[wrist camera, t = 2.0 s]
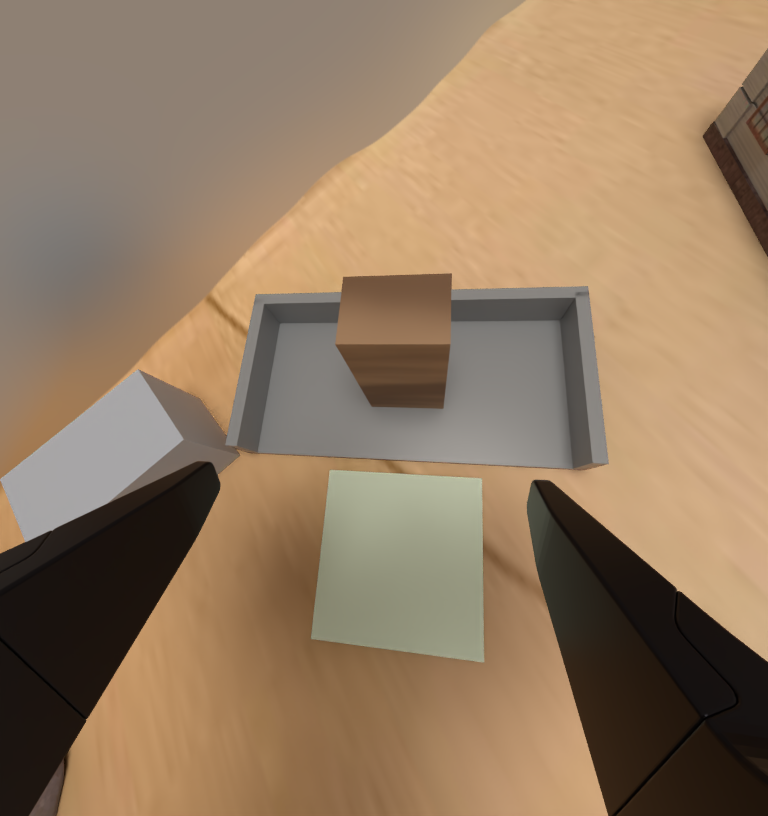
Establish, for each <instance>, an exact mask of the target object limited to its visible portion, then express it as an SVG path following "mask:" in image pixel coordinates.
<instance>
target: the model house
mask: <svg viewBox="0 0 768 816" xmlns="http://www.w3.org/2000/svg"><path fill="white" fill-rule="evenodd" d="M742 85H743V87H739V89H738V90H737V92H736V93H735V94H734V96H733V97H732V98H731V100H730V101H729V103H728V104H727V105H726V107H725V108H724V109H723V111H722V112H721V113H720V115H719V116H718V118H717V119H716V120H715V122H713V123H712V124H711V125H710V127H709V128H708V130H707V131H706V132H705V134H704V135H703V138H704V140H705V142H706V144H707V145H708V147H709V149H710V151H711V153H712V155H713V156H714V158H715V160H716V162H717V164H718V166H719V168H720V169H721V171H722V173H723V175H724V177H725V179H726V181H727V182H728V184H729V186H730V188H731V190H732V192H733V194H734V195H735V197H736V199H737V201H738V203H739V205H740V206H741V208H742V210H743V212H744V214H745V216H746V218H747V219H748V221H749V223H750V225H751V227H752V229H753V231H754V232H755V234H756V236H757V238H758V240H759V242H760V244H761V245H762V247H763V249H764V251H765V253H766V255H767V257H768V49H767V50H766V52H765V53H764V54H763V56H762V57H761V59H760V60H759V61H758V63H757V64H756V65H755V67H754V68H753V70H752V71H751V72H750V74H749V75H748V76H747V78H746V79H745V81H744V82H743V83H742Z"/></svg>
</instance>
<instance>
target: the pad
mask: <svg viewBox="0 0 768 816" xmlns="http://www.w3.org/2000/svg"><path fill="white" fill-rule="evenodd" d="M311 639H315V640H322V641H329V642H337V643H344V644H351V645H359V646H366V647H373V648H381V649H388V650H395V651H403V652H410V653H417V654H425V655H432V656H439V657H447V658H454V659H461V660H469V661H476V662H483V663H484V608H483V522H482V478H467V477H449V476H432V475H414V474H397V473H379V472H362V471H344V470H330V474H329V483H328V491H327V500H326V509H325V518H324V527H323V536H322V544H321V553H320V562H319V571H318V580H317V589H316V598H315V606H314V615H313V624H312V633H311Z"/></svg>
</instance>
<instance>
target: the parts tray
mask: <svg viewBox="0 0 768 816" xmlns="http://www.w3.org/2000/svg"><path fill="white" fill-rule="evenodd" d="M340 300H341V292H334V293H293V294H256V296H255V301H254V306H253V311H252V316H251V320H250V325H249V330H248V335H247V340H246V345H245V350H244V355H243V360H242V365H241V370H240V375H239V380H238V384H237V389H236V394H235V399H234V404H233V409H232V414H231V419H230V424H229V429H228V434H227V439H226V444H225V445H226V446H229V447H232V448H235V449H239V450H242V451H245V452H248V453H263V454H282V455H302V456H321V457H341V458H360V459H380V460H399V461H418V462H438V463H457V464H477V465H496V466H516V467H535V468H555V469H574V470H587V469H591V468H595V467H599V466H602V465H606V464H609V462H608V453H607V445H606V436H605V428H604V419H603V410H602V402H601V393H600V385H599V376H598V367H597V359H596V350H595V342H594V333H593V324H592V316H591V307H590V299H589V290H588V286H583V287H541V288H500V289H458V290H451V345H450V354H449V363H448V372H447V381H446V390H445V399H444V408H443V409H434V408H398V407H372V406H371V405H370V403H369V401H368V400H367V398H366V396H365V394H364V393H363V391H362V389H361V388H360V386H359V384H358V382H357V381H356V379H355V377H354V376H353V374H352V372H351V371H350V369H349V367H348V365H347V364H346V362H345V360H344V359H343V357H342V355H341V353H340V352H339V350H338V348H337V347H336V345H335V342H336V333H337V325H338V317H339V309H340Z"/></svg>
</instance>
